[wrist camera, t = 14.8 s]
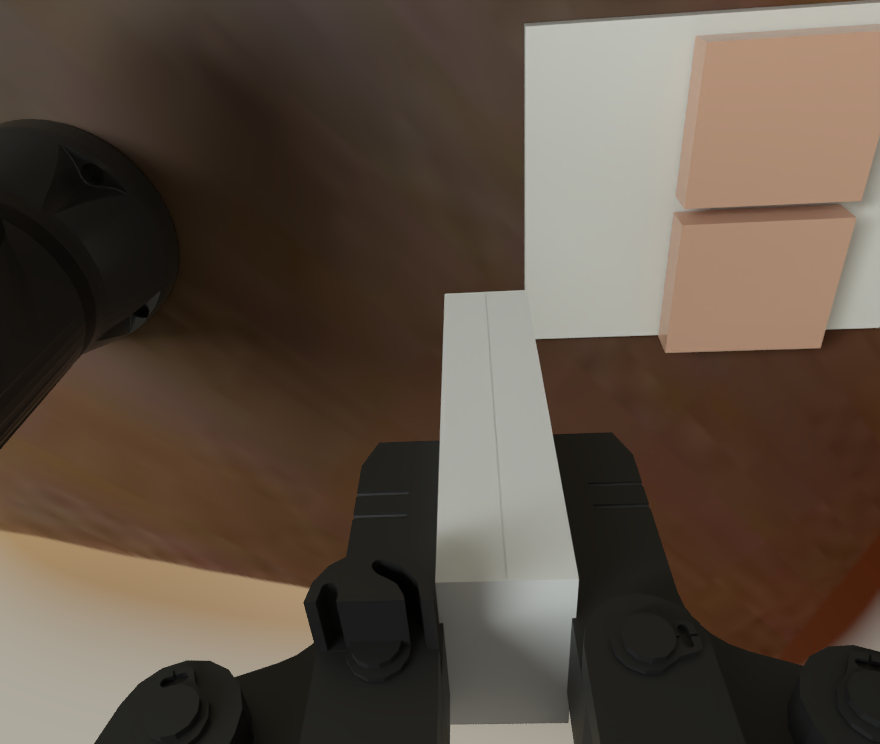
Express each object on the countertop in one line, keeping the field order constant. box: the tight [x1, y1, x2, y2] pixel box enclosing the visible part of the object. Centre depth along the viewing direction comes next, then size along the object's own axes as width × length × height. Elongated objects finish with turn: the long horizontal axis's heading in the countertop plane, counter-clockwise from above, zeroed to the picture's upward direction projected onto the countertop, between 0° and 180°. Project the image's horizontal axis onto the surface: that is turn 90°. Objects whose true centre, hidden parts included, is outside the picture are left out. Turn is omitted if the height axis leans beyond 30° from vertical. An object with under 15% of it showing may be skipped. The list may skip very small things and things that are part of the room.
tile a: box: [658, 204, 857, 353], centre depth 44 cm, size 2×9×10 cm
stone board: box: [524, 0, 880, 339], centre depth 43 cm, size 24×20×1 cm
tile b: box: [676, 24, 880, 209], centre depth 39 cm, size 2×9×10 cm
